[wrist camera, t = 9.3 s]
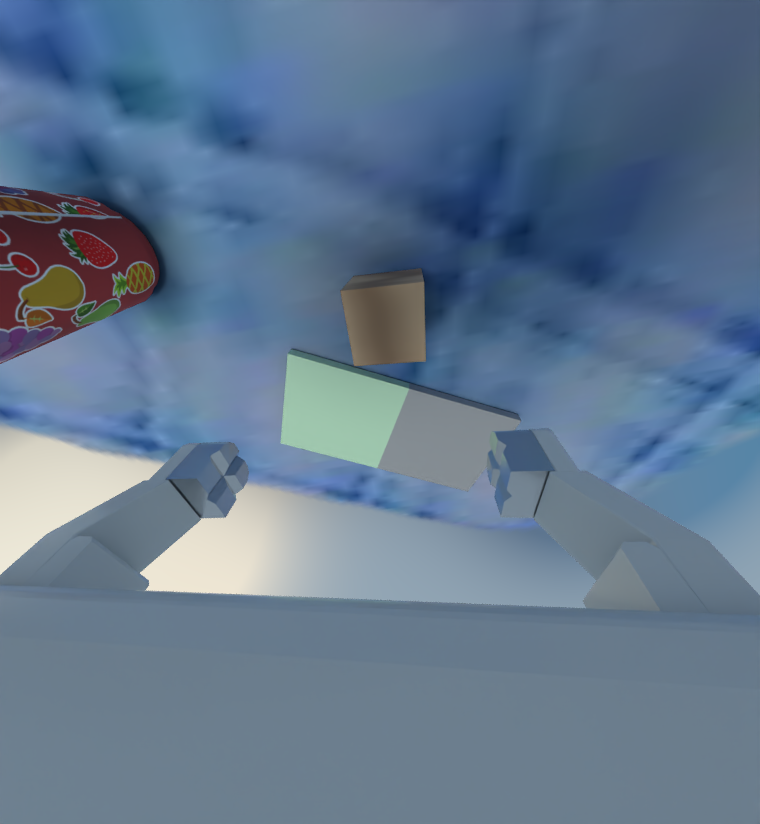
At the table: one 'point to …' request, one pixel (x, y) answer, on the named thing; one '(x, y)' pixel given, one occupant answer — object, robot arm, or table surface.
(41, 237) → the smoothie
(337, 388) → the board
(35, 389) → the table surface
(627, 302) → the table surface
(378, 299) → the walnut block
